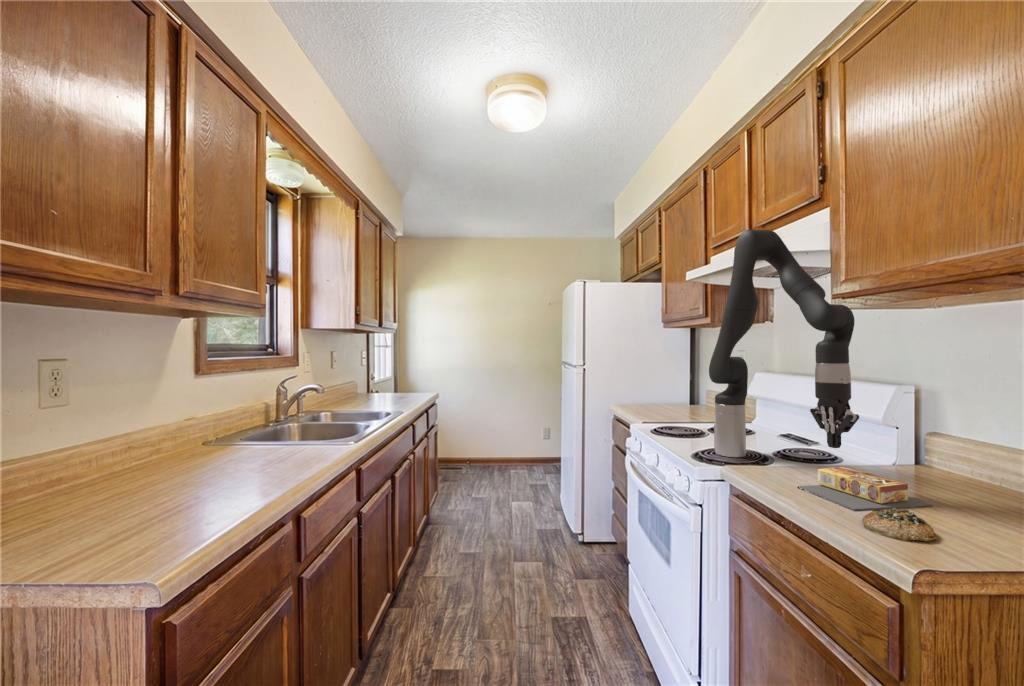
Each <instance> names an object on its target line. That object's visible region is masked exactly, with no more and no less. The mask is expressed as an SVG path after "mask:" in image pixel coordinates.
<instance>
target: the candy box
mask: <svg viewBox="0 0 1024 686" xmlns="http://www.w3.org/2000/svg"><path fill="white" fill-rule="evenodd" d="M817 485H823V486H826V487H829V488H832V489H836V490H839V491H842V492H845V493H848V494H851V495H854V496H858V497H861V498H864V499H867V500H870V501H873V502H877V503H879V504H884V503H891V502H899V501H907V500H908V496H909V487H908V486H909V484H908V483H905V482H902V481H899V480H895V479H891V478H887V477H883V476H879V475H875V474H871V473H867V472H865V471H859V470H856V469H852V468H847V467H843V466H840V467H828V468H827V467H826V468H818V469H817Z"/></svg>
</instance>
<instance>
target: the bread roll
mask: <svg viewBox="0 0 1024 686" xmlns="http://www.w3.org/2000/svg"><path fill="white" fill-rule="evenodd" d="M861 522H862V524H863V527H864V528H865V529H867V530H868V531H871V532H873V533H874V534H877V535H880V536H883V537H888V538H891V539H896V538H897V539H898V540H900V539H902V541H907V540H917V541H921V542H925V541H926V542H927V541H929V542H932V540H933V541H934V540H936V539H938V538H937V535H936V533H935V530H934V528H933V527H932V526H931V525H930V524H928V522H927V521H926V520H924V519H923V518H921V517H918V516H917V515H916V513H915V512H912V511H909V510H908V509H902V510H899V508H893V509H877V510H871V512H869V513H867V514H865V515H864V516H863V517H862V520H861Z"/></svg>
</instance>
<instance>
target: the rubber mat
mask: <svg viewBox="0 0 1024 686" xmlns="http://www.w3.org/2000/svg"><path fill="white" fill-rule="evenodd" d="M798 487H800V488H802V489H805V490H807V491H809V492H811V493H814V494H816V495H818V496H817V497H819V496H820V497H819V498H821V497H823V498H822V499H824V498H825V499H824V500H826V499H827V501H828V500H829V502H831V501H832V502H831V503H833V502H834V504H836V505H838V504H839V505H838V506H841V507H843V508H847V509H848V510H851V511H853V512H856V511H859V512H860V511H873V510H888V509H893V508H895V509H905V508H909V509H910V508H923V507H922V506H926V507H933V503H930V502H927V501H924V500H920V499H917V498H914V497H911V496H909V495H908V500H907V501H899V502H891V503H884V504H879V503H877V502H873V501H870V500H867V499H864V498H861V497H858V496H854V495H851V494H848V493H845V492H842V491H839V490H836V489H832V488H829V487H826V486H823V485H820V484H816V485H800V486H797V488H798ZM809 492H808V493H809ZM811 493H810V494H811ZM814 494H813V495H814ZM816 495H815V496H816Z"/></svg>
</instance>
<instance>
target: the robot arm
mask: <svg viewBox="0 0 1024 686" xmlns="http://www.w3.org/2000/svg"><path fill="white" fill-rule="evenodd" d="M735 243H736V244H735V246H734V247H735V248H734V255H733V256H734V257H733V265H732V270H731V271H732V272H731V279H730V284H729V289H728V294H727V297H726V302H725V305H724V310H723V315H722V321H721V325H720V329H719V334H718V336H717V337H718V338H717V340H716V344H715V347H714V349H713V352H712V355H711V358H710V361H709V366H708V367H709V368H708V377H709V379H710V380H711V382H713V383H714V384H717V385H722V384H723V385H727V387H726V388H725V390H723V391H721V392H719V393H717V394H715V396H714V408H715V409H714V419H715V421H714V422H715V424H714V425H713V429H714V430H713V434H714V435H713V437H714V439H713V440H714V445H713V447H714V452H715V454H716V455H719V456H723V457H728V458H745V457H746V456H747V441H746V439H747V433H746V431H747V429H746V425H747V424H746V399H747V396H748V382H749V380H748V379H749V378H748V377H749V372H748V371H749V369H748V364H747V362H746V360H745V359H744V358H743V357H741V356H732V353H733V350H734V348H735V347H736V345H737V344H738V342H740V340H741V339H742V338H743V337H744V336H745V335H746V334H747V333H748V331H749V330H750V329H751V327H753V326H754V323H755V319H756V316H757V312H758V308H759V297H758V295H757V291H756V288H755V285H754V281H753V279H754V270H755V266H756V262H757V261H765V262H767V263H768V264H770V265H771V266H772V267H773V268H774V269H775V270H776V271H777V274H778V276H779V281H780V284H781V287H782V289H783V291H784V292H785V293H786V294H787V295H788V296H789V298H791V299H792V301H794V303H795V304H797V305H798V307H799V310H800V312H801V314H802V316H803V317H804V319H805V320H806V322H807V324H809V326H811V327H812V328H814V329H815V330H816V331H821V332H824V335H823V336H824V337H823V340H821V341H819V342H817V343H816V344H815V366H814V367H815V368H814V389H815V390H814V393H815V398H816V399H818V400H817V404H816V405H817V406H816V407H815V408H810V409H809V412H810V413H811V415H812V417H813V419H814V420H815V422H816V423H817V425H818V427H819V429H822V430H824V432H825V433H826V441H827V442H826V443H827V447H828V448H833V449H840V448H841V446H842V434H843V433H849V432H850V430H851V429H852V428H853V427H854V425H855V424H856V423H857V421H859V420H860V415H859V414H857V413H856V414H855V413H854V412H853V411H852V410H851V405H850V402H849V401H850V400H851V399H852V375H851V373H852V372H851V369H850V368H851V367H850V351H849V350H850V349H849V348H850V344H851V341H852V338H853V337H852V336H853V332H854V328H855V316H854V313H853V311H852V309H850V307H848V305H847V306H846V305H844V304H836V303H835V304H831V303H829V302H828V301H827V300H826V291H825V289H824V288H823V287H822V286H821V285H820V284H819V283H818V282H817V281H816V280H815V279H814V278H813V277H812V276H810V274H809V273H808V272H807V271H806V270H805V269H804V268H803V267H802V265H800V264H799V263H798V261H797V259H796V258H795V257H794V256H793V254H792V252H791V251H790V250H789V248H788V246H787V245H786V244H785V243H784V241H783V239H782V238H781V237H780V236H779V234H777V233H776V231H774V230H771V229H747V230H745V231H744V230H743V232H742V233H741V234H740V235H739V236H738V238H737V240H736V242H735Z"/></svg>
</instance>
